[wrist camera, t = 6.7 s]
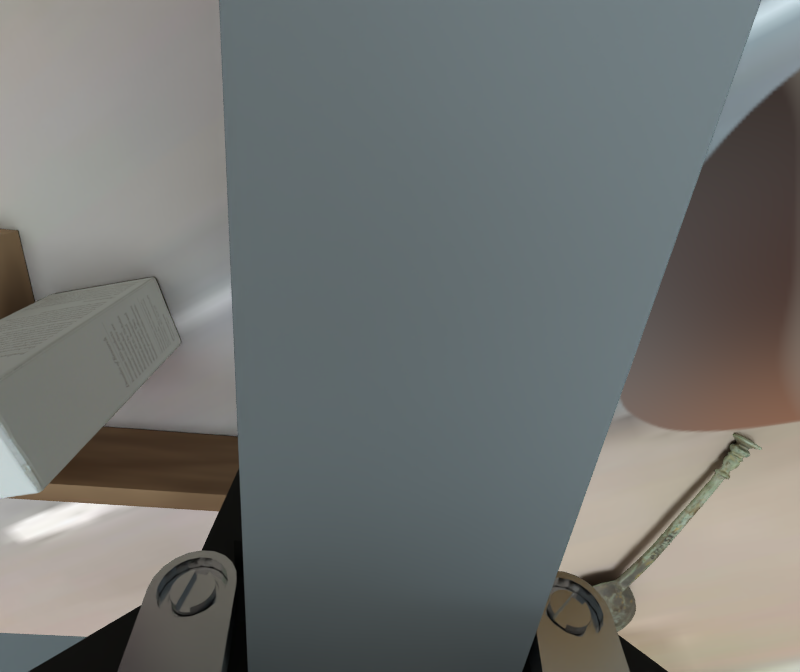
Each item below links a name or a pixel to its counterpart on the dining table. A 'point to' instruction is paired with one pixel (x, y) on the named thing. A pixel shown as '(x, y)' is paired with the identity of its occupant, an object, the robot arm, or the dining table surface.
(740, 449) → the soupspoon
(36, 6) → the dining table surface
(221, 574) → the robot arm
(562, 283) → the crook
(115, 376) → the skincare box
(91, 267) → the dining table surface
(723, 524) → the dining table surface
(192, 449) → the wooden u-shaped tray
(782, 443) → the dining table surface
